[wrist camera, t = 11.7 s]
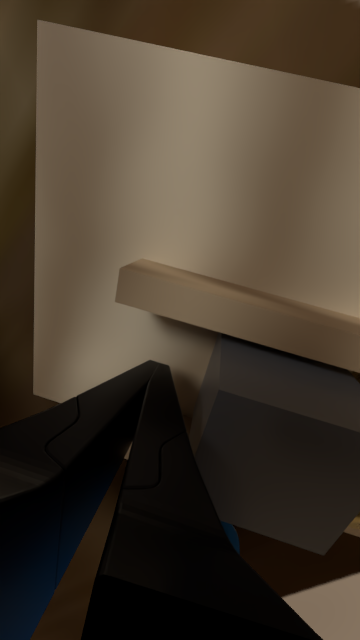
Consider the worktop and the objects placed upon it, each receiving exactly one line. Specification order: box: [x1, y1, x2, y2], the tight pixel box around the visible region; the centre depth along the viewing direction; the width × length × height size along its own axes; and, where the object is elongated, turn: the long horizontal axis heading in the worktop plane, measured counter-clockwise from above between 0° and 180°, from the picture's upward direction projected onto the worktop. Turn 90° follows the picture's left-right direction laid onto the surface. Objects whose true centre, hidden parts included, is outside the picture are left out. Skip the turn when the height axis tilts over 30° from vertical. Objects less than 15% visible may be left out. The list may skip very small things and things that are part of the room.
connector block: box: [189, 332, 360, 556], centre depth 8 cm, size 4×4×4 cm
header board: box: [33, 20, 360, 537], centre depth 8 cm, size 14×13×3 cm
